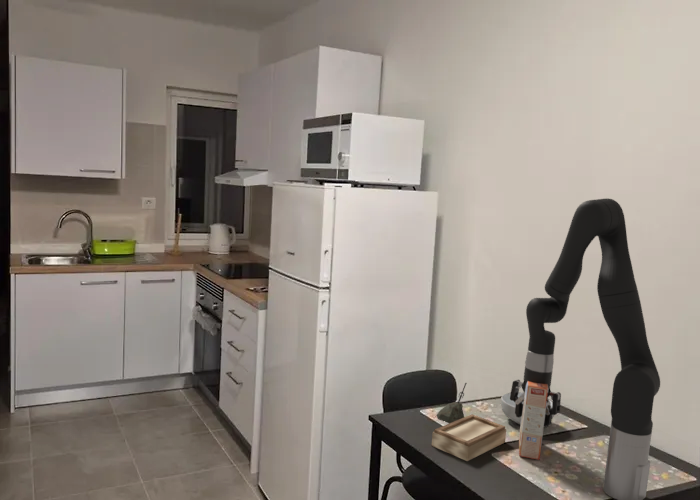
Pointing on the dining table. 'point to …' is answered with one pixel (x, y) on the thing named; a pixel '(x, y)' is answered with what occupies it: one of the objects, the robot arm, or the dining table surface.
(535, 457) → the cracker box
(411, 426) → the dining table surface
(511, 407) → the cereal bowl
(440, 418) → the sword in stone
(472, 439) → the wooden box
